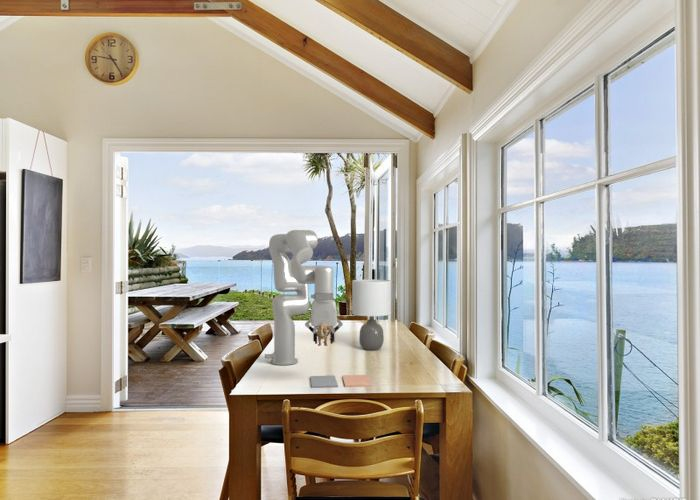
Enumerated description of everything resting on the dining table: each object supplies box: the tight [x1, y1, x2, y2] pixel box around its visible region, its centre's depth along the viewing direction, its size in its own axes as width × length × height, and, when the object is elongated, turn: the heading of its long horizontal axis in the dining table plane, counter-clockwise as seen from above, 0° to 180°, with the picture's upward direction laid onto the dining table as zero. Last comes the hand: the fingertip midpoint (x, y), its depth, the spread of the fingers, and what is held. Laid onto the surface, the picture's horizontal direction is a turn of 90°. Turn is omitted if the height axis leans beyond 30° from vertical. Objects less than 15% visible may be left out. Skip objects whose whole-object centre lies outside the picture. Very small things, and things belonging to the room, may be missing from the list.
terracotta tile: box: [342, 374, 372, 388], centre depth 199 cm, size 10×16×1 cm, turn 5°
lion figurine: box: [316, 324, 335, 347], centre depth 200 cm, size 15×5×9 cm, turn 169°
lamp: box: [351, 279, 392, 351], centre depth 267 cm, size 21×21×37 cm
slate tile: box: [309, 375, 339, 389], centre depth 198 cm, size 10×16×1 cm, turn 6°
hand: (323, 342), depth 198 cm, fingers closed on lion figurine, 5 cm apart
